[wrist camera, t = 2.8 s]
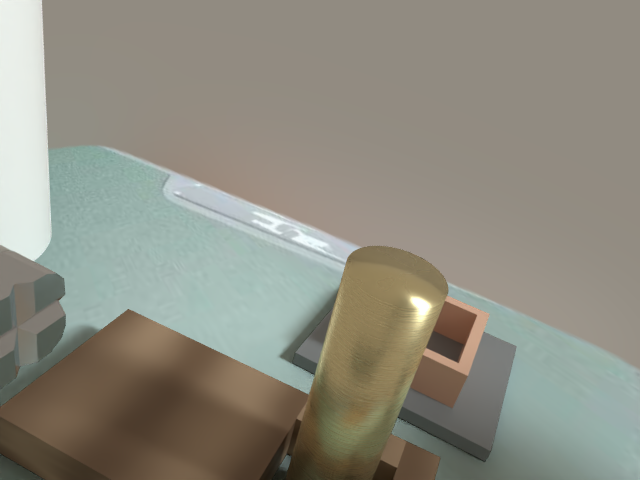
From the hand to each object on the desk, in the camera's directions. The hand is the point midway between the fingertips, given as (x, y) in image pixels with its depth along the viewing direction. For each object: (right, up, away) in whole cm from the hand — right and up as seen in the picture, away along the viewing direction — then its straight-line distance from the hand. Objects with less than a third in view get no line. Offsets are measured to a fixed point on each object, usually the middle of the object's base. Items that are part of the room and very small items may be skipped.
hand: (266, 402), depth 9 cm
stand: (+8, -6, +33) cm, 34 cm away
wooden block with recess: (-5, -10, +22) cm, 24 cm away
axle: (0, -12, +20) cm, 24 cm away
